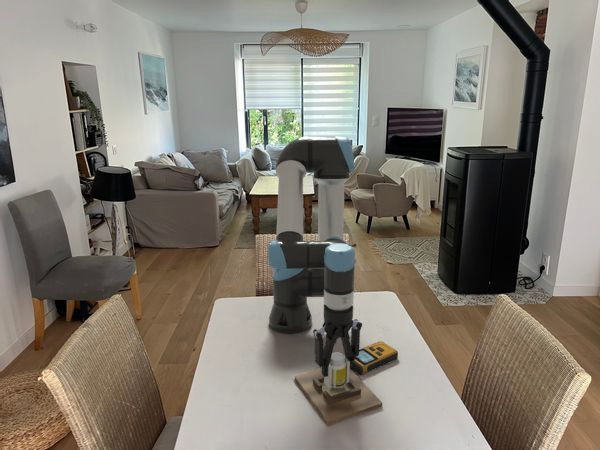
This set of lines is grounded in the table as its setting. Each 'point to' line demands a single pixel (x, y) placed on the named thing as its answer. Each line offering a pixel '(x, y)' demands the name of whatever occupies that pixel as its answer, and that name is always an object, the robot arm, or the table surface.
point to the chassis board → (337, 396)
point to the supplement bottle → (338, 370)
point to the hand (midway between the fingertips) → (336, 382)
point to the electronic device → (373, 357)
